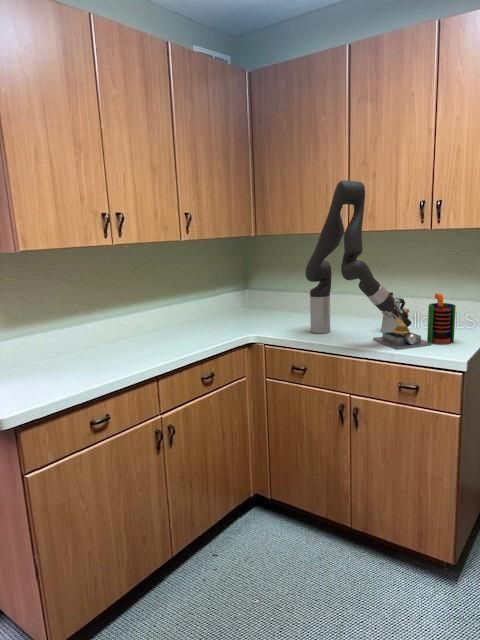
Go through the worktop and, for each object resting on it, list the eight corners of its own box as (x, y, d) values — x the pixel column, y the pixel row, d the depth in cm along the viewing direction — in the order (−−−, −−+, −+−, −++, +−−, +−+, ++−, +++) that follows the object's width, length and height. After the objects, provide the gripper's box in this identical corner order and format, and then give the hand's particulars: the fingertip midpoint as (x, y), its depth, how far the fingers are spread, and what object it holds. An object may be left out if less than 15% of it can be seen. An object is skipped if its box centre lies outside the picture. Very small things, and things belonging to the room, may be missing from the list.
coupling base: (372, 340, 210) (372, 328, 209) (405, 336, 214) (405, 325, 213) (396, 349, 193) (397, 337, 192) (431, 345, 197) (431, 333, 196)
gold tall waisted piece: (390, 332, 204) (390, 309, 202) (403, 331, 206) (404, 307, 204) (399, 335, 198) (399, 311, 196) (412, 334, 200) (413, 309, 198)
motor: (435, 345, 195) (437, 296, 192) (422, 341, 204) (423, 293, 200) (457, 343, 198) (459, 294, 194) (442, 338, 207) (444, 291, 203)
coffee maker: (385, 334, 218) (386, 294, 215) (372, 331, 226) (372, 292, 223) (411, 330, 224) (411, 291, 221) (397, 326, 232) (398, 289, 229)
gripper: (396, 292, 190) (422, 319, 195) (376, 288, 204) (401, 313, 209) (384, 306, 190) (410, 333, 195) (365, 301, 203) (390, 327, 209)
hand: (405, 323), depth 202 cm, fingers closed on gold tall waisted piece, 5 cm apart
